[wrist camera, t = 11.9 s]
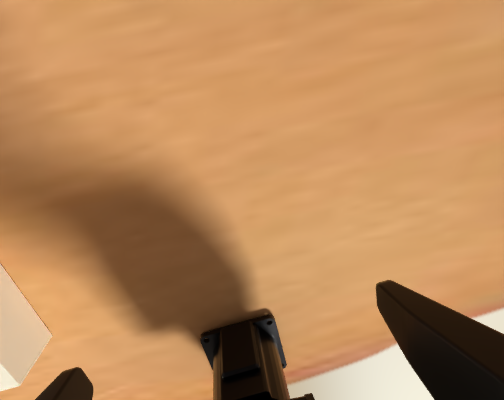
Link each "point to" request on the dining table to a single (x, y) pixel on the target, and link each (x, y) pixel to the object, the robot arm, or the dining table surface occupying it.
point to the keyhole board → (18, 334)
